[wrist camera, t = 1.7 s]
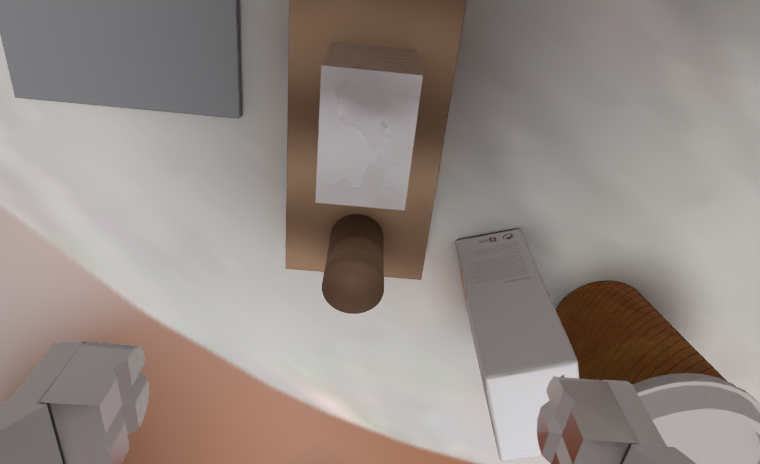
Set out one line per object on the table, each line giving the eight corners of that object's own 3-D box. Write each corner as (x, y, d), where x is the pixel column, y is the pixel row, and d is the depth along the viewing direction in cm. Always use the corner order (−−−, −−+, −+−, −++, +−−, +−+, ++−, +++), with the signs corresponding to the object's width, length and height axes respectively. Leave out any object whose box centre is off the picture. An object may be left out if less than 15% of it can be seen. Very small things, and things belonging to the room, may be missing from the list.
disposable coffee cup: (694, 272, 36) (825, 416, 25) (635, 378, 40) (724, 537, 30) (555, 248, 35) (630, 388, 24) (510, 359, 39) (557, 517, 29)
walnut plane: (300, -136, 25) (269, -160, 18) (475, -116, 25) (511, -131, 18) (292, 242, 34) (270, 323, 28) (418, 253, 35) (427, 334, 28)
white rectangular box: (331, 41, 26) (321, 65, 21) (415, 50, 26) (422, 75, 21) (325, 160, 29) (315, 202, 24) (401, 167, 29) (404, 210, 24)
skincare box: (452, 239, 34) (483, 376, 24) (520, 226, 34) (582, 360, 23) (466, 314, 37) (499, 465, 27) (529, 303, 37) (587, 452, 26)
